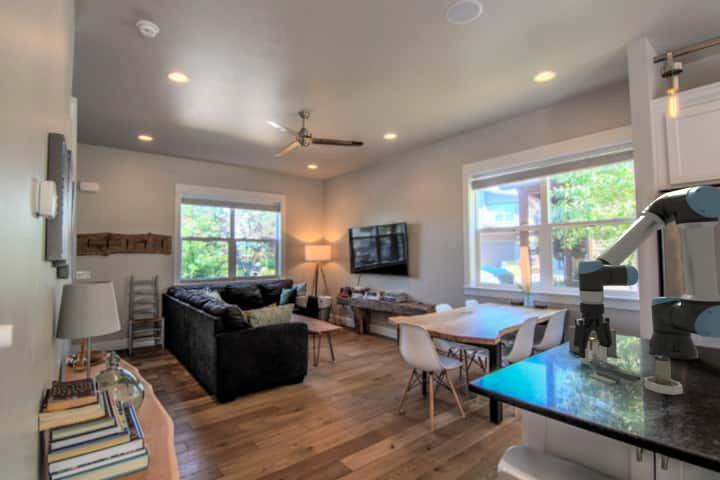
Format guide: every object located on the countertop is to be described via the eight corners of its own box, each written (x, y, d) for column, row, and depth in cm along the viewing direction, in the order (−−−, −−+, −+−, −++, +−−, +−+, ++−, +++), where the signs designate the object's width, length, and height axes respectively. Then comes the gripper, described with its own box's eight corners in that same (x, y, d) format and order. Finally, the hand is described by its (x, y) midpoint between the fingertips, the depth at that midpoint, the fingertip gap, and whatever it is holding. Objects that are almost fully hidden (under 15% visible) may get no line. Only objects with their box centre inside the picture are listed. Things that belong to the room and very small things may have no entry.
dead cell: (658, 388, 108) (657, 354, 109) (673, 391, 105) (672, 357, 106) (653, 390, 106) (651, 356, 107) (668, 394, 103) (667, 359, 104)
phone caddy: (591, 347, 156) (590, 324, 156) (616, 355, 145) (615, 329, 145) (569, 350, 153) (568, 326, 153) (593, 357, 142) (592, 332, 142)
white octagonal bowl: (658, 387, 110) (657, 375, 110) (689, 397, 102) (688, 384, 103) (638, 390, 108) (637, 378, 108) (667, 401, 100) (667, 388, 100)
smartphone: (610, 352, 150) (609, 349, 151) (597, 359, 141) (597, 356, 141) (588, 348, 157) (588, 345, 157) (574, 355, 147) (574, 352, 147)
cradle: (618, 375, 121) (617, 366, 122) (649, 385, 112) (648, 375, 112) (585, 379, 118) (584, 370, 118) (614, 391, 108) (613, 380, 108)
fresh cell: (593, 364, 134) (592, 337, 134) (602, 367, 130) (601, 339, 130) (585, 365, 133) (584, 337, 133) (594, 368, 129) (593, 340, 130)
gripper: (604, 299, 139) (606, 360, 138) (560, 302, 133) (562, 365, 132) (623, 302, 131) (625, 365, 131) (577, 305, 126) (580, 371, 125)
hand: (594, 365), depth 131 cm, fingers open, 8 cm apart
